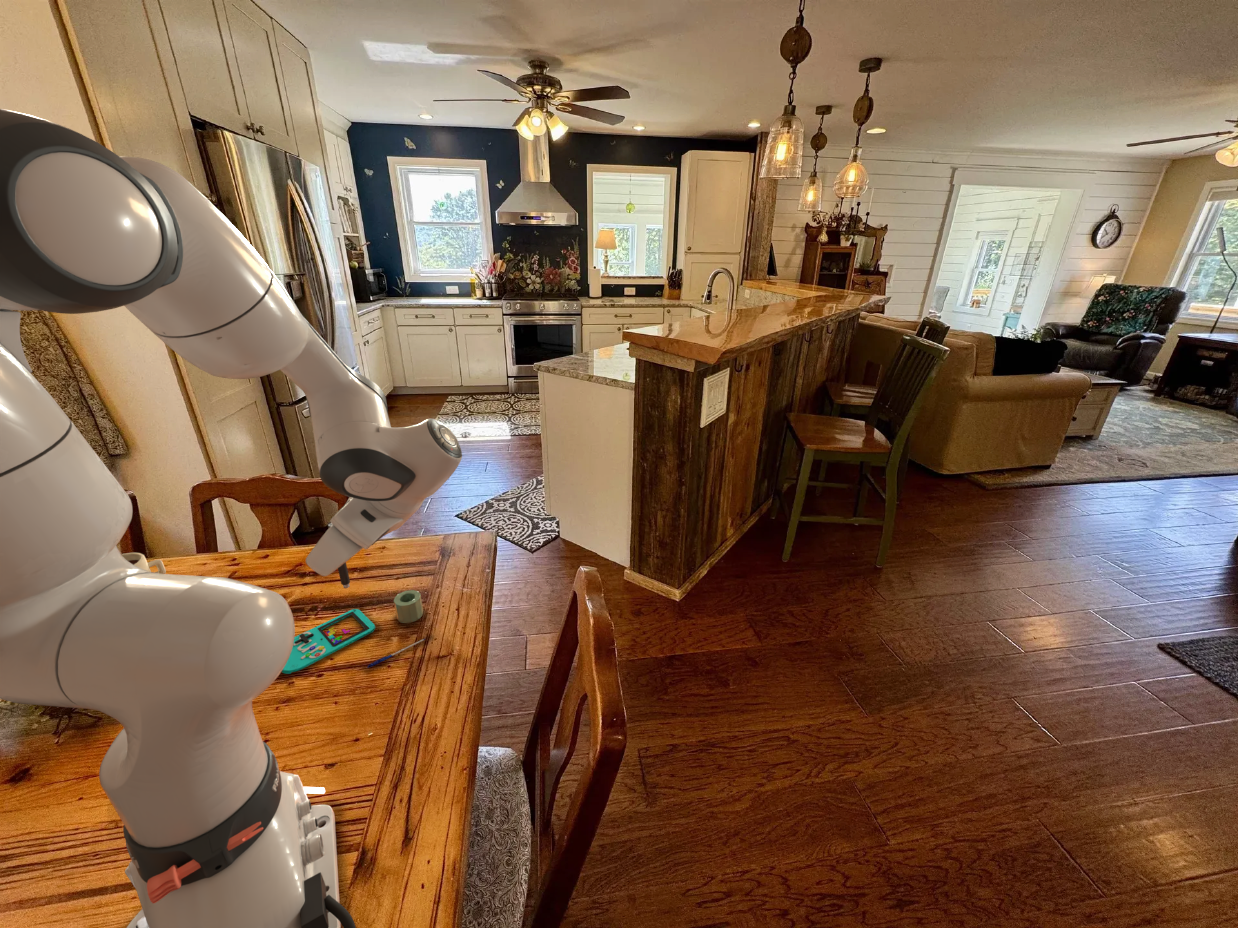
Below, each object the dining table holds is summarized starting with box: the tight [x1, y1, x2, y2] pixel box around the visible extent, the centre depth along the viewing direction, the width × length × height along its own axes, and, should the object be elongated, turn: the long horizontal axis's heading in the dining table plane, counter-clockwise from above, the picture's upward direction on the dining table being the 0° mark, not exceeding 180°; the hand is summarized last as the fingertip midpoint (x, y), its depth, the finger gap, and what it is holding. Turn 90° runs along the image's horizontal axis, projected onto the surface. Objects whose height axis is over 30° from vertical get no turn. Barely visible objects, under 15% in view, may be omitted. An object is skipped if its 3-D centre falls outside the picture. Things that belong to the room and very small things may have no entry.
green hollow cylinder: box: [393, 589, 424, 624], centre depth 93 cm, size 5×5×4 cm
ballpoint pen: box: [367, 638, 426, 668], centre depth 85 cm, size 10×1×1 cm, turn 135°
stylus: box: [327, 522, 351, 589], centre depth 80 cm, size 1×1×12 cm
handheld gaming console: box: [281, 608, 376, 675], centre depth 87 cm, size 8×1×15 cm
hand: (335, 552), depth 80 cm, fingers closed on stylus, 1 cm apart
